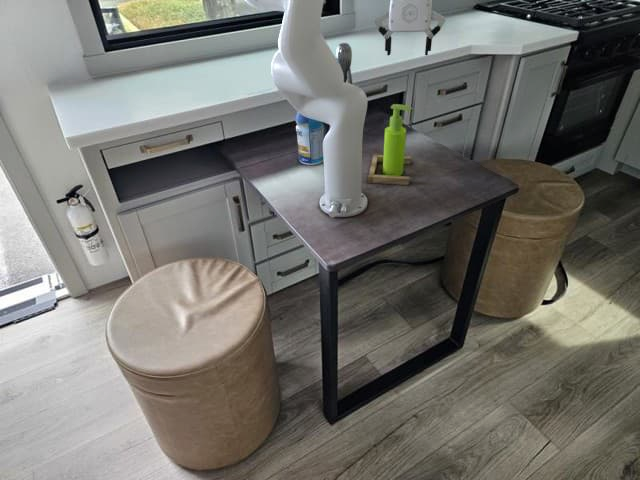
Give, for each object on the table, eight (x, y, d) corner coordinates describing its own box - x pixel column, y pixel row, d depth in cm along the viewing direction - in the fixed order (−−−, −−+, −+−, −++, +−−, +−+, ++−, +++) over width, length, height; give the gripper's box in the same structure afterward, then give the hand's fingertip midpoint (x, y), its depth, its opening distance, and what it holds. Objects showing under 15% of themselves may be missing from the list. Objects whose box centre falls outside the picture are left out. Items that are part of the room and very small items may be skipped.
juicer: (355, 129, 151) (355, 38, 133) (354, 143, 143) (354, 47, 124) (327, 129, 152) (324, 39, 134) (324, 143, 144) (321, 48, 125)
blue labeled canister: (324, 165, 131) (321, 101, 119) (297, 166, 132) (291, 102, 120) (326, 153, 138) (323, 91, 126) (300, 153, 139) (294, 92, 126)
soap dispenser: (401, 179, 123) (407, 111, 110) (379, 174, 126) (382, 107, 113) (409, 170, 127) (415, 103, 114) (387, 165, 130) (391, 100, 117)
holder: (408, 185, 120) (409, 178, 119) (368, 182, 122) (368, 176, 121) (410, 162, 131) (411, 156, 129) (373, 160, 133) (373, 154, 132)
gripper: (374, -19, 100) (372, 58, 111) (450, -21, 97) (441, 58, 107) (377, -24, 106) (376, 50, 117) (450, -26, 103) (441, 49, 113)
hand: (407, 53), depth 112 cm, fingers open, 9 cm apart
